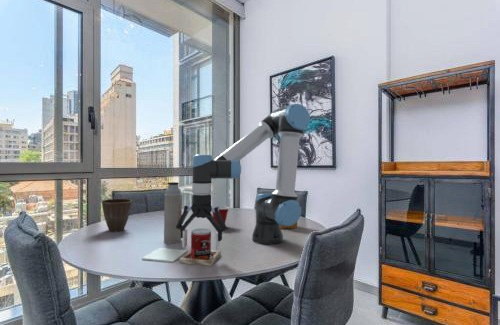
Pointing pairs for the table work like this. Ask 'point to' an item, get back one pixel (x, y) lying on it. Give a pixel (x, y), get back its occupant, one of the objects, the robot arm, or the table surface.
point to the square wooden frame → (198, 261)
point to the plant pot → (116, 213)
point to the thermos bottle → (172, 213)
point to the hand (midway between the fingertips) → (200, 247)
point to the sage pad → (165, 255)
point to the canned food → (201, 244)
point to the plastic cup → (223, 213)
